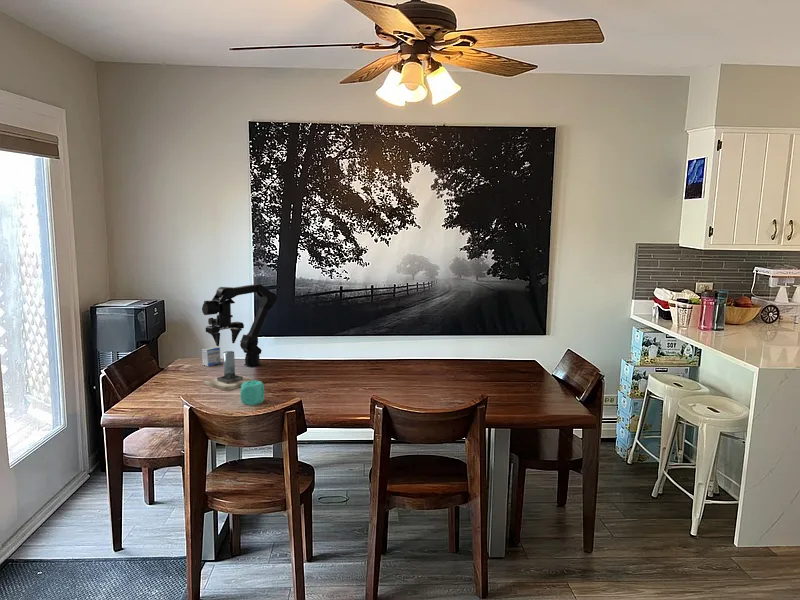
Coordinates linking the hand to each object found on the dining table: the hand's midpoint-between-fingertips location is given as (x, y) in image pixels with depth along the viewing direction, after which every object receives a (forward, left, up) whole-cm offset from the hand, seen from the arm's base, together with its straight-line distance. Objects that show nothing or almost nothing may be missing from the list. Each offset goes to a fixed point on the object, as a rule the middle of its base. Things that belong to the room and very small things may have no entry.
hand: (225, 344), depth 291 cm
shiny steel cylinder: (+13, +21, -12) cm, 27 cm away
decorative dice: (+23, +51, -13) cm, 57 cm away
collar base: (+13, +21, -13) cm, 27 cm away
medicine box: (-2, -16, -13) cm, 21 cm away
